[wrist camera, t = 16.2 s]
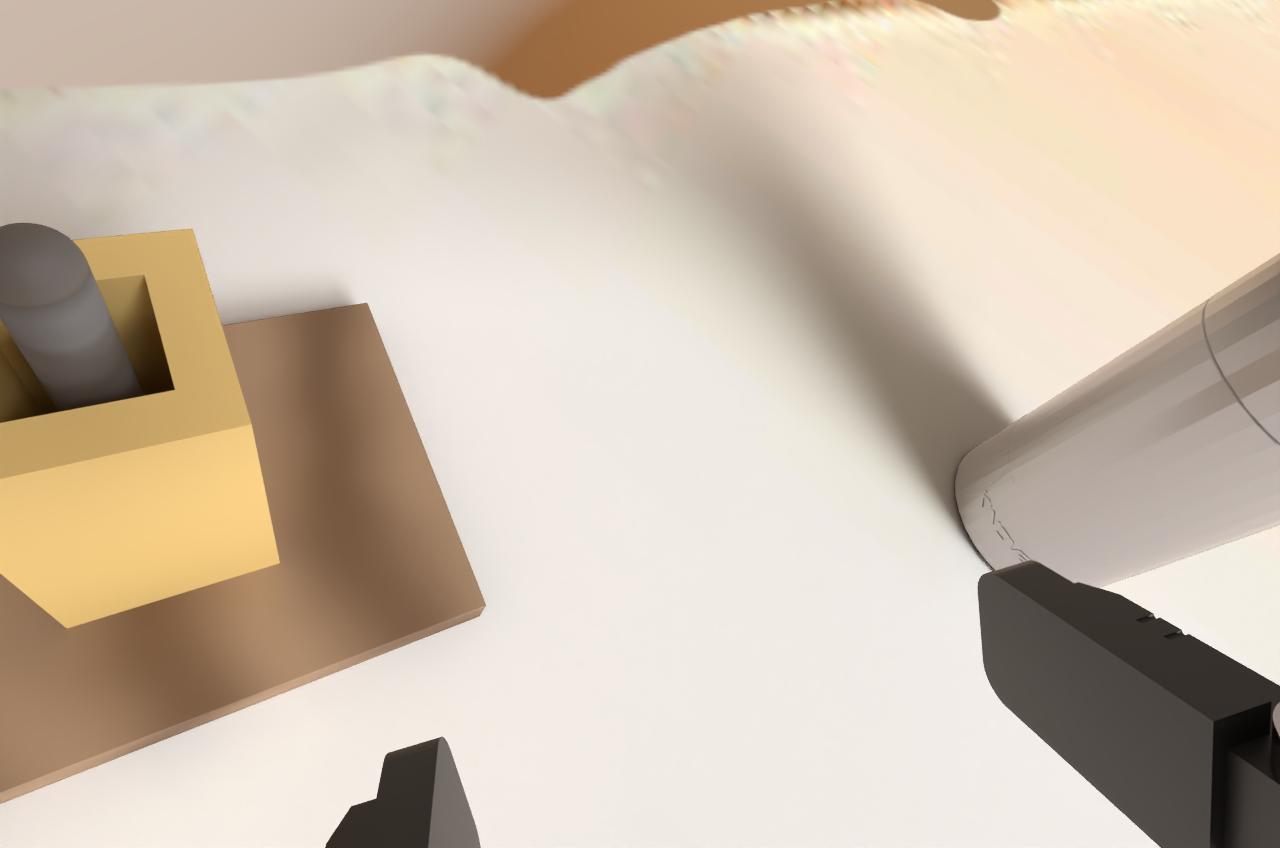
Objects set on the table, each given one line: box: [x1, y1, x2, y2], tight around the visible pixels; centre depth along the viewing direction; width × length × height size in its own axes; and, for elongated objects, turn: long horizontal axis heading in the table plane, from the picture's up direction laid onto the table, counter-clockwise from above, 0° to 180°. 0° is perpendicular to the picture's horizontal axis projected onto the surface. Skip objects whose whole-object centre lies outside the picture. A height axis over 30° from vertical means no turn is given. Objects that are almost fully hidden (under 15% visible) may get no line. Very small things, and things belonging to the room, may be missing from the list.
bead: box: [0, 229, 280, 628], centre depth 21 cm, size 6×6×10 cm
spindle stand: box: [0, 223, 486, 804], centre depth 20 cm, size 18×14×15 cm
